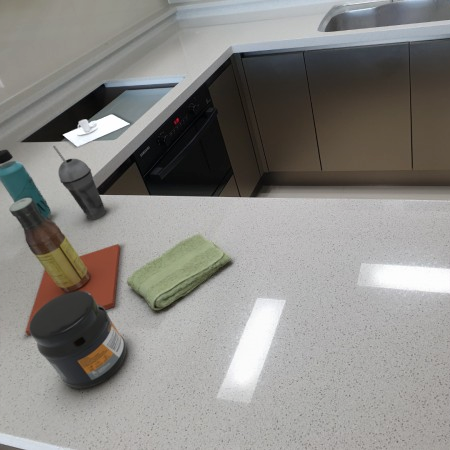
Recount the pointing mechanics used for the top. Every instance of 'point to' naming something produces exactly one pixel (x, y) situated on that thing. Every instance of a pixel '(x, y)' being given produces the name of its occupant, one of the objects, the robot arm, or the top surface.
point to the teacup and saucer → (94, 129)
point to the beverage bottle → (20, 183)
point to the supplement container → (78, 339)
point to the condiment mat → (97, 284)
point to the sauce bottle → (50, 246)
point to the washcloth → (177, 271)
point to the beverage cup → (81, 186)
